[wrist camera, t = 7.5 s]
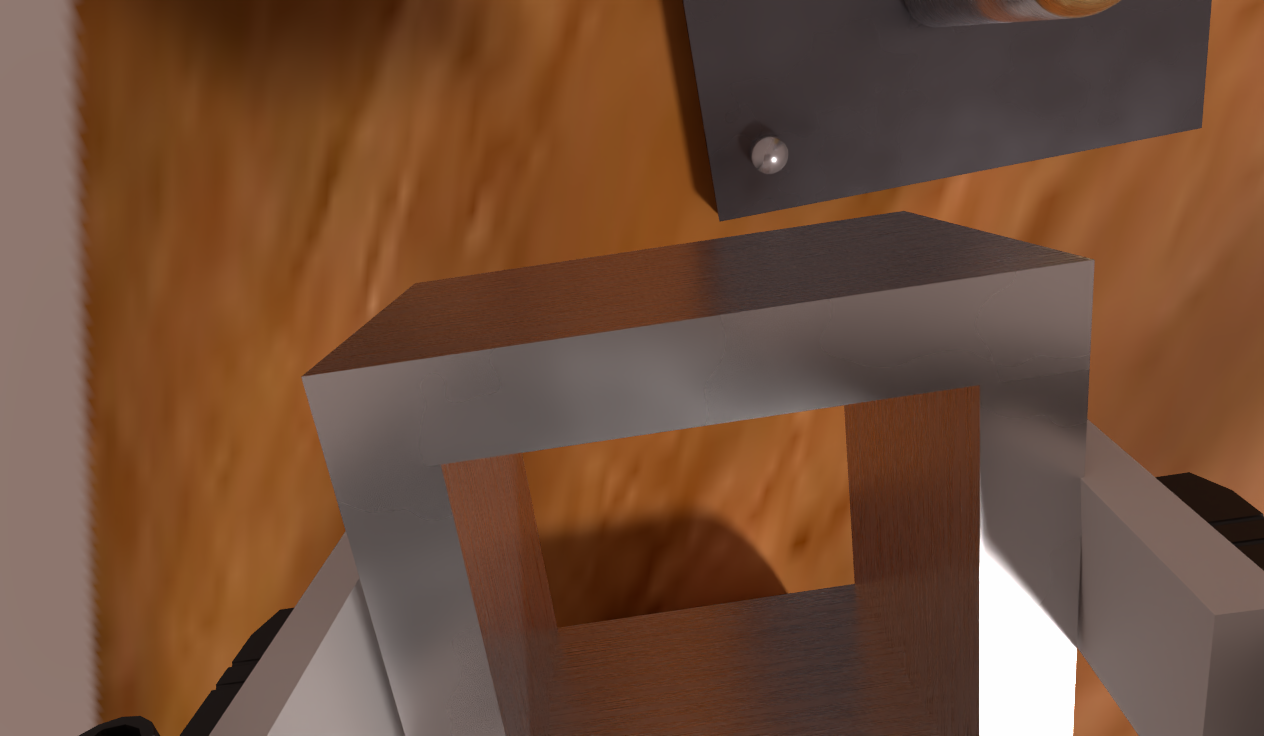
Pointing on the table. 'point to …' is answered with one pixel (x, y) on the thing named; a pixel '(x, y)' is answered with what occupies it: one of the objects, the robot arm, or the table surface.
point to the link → (718, 393)
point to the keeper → (930, 88)
